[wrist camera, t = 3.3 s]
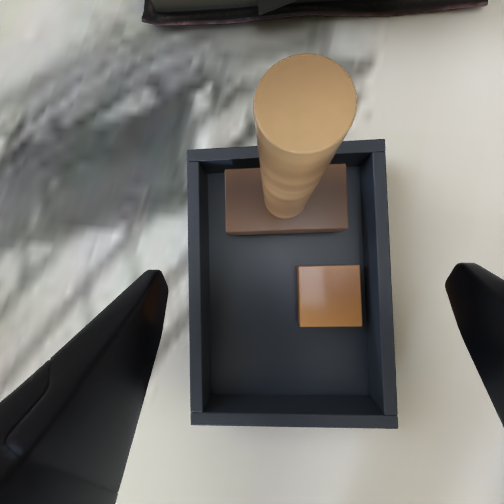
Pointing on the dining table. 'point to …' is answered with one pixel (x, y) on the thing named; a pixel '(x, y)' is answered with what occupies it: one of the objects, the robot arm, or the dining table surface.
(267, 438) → the dining table surface
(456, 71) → the dining table surface
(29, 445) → the robot arm
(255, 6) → the diary
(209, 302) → the baking tray
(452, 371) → the dining table surface
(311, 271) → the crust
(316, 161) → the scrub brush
